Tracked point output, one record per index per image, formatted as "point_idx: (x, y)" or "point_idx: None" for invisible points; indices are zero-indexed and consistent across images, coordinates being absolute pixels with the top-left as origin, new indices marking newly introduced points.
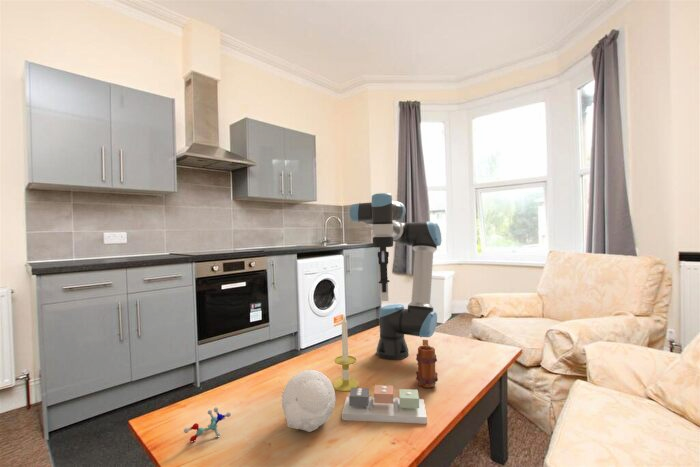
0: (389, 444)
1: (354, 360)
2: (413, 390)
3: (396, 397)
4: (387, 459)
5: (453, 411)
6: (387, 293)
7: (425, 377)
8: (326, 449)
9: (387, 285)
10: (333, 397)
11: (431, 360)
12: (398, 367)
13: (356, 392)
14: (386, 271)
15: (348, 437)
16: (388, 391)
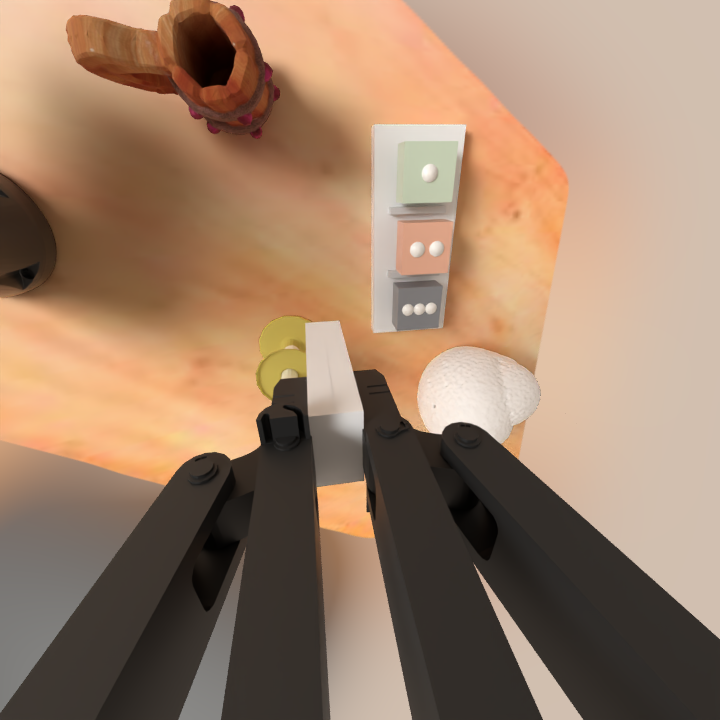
0: (520, 222)
1: (282, 353)
2: (410, 156)
3: (391, 210)
4: (558, 225)
5: (401, 22)
6: (347, 354)
7: (267, 96)
8: (517, 329)
9: (358, 397)
10: (486, 357)
11: (256, 42)
12: (116, 203)
13: (421, 315)
14: (639, 578)
15: (491, 301)
16: (438, 235)
